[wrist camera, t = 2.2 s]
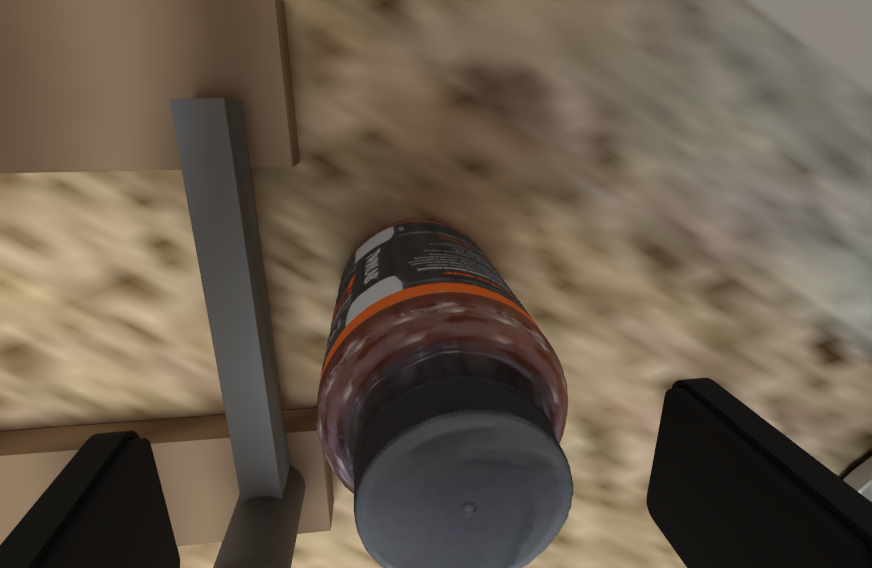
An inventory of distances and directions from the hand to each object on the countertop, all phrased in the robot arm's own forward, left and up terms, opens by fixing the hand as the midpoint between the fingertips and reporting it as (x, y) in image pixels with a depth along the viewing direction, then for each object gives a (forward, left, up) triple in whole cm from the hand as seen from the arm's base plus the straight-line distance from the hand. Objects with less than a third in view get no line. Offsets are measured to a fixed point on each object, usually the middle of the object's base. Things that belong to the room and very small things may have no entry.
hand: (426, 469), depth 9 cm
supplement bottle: (-1, 0, -11) cm, 11 cm away
